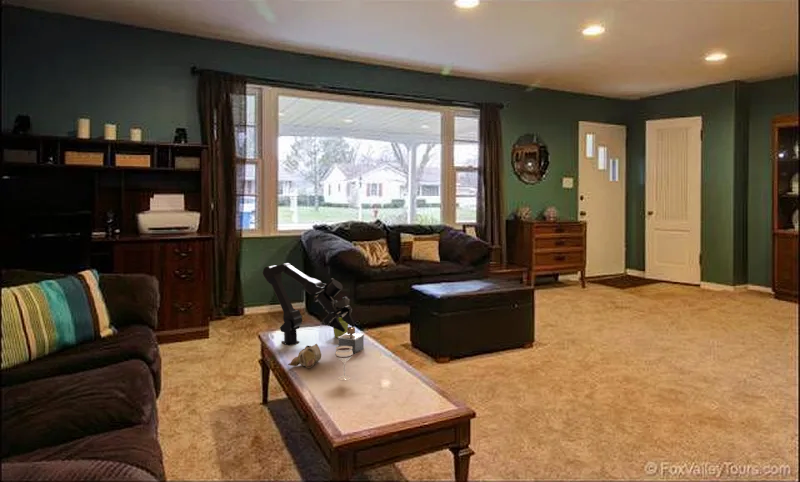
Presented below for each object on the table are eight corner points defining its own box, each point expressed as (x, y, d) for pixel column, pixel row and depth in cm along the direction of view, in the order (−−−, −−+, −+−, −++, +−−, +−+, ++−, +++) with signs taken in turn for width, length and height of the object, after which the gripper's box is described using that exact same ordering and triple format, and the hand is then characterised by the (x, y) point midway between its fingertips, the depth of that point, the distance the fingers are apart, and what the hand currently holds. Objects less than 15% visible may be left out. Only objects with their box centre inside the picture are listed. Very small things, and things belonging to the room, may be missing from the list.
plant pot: (348, 339, 251) (348, 322, 250) (329, 339, 251) (329, 322, 250) (351, 334, 260) (350, 317, 260) (332, 334, 261) (332, 317, 260)
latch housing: (338, 352, 231) (337, 337, 230) (349, 345, 240) (349, 331, 240) (355, 354, 227) (355, 339, 227) (366, 347, 237) (366, 333, 237)
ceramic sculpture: (327, 341, 217) (308, 353, 204) (328, 360, 218) (309, 374, 205) (306, 339, 221) (285, 350, 208) (307, 358, 223) (287, 371, 209)
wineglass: (353, 374, 202) (353, 345, 201) (352, 381, 195) (352, 350, 194) (336, 375, 202) (336, 345, 201) (334, 381, 195) (334, 350, 194)
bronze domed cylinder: (345, 348, 232) (345, 328, 231) (349, 346, 235) (349, 326, 234) (352, 349, 230) (352, 329, 230) (356, 346, 234) (356, 327, 233)
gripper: (328, 295, 224) (350, 322, 221) (348, 288, 241) (369, 313, 238) (313, 311, 228) (335, 338, 225) (334, 303, 245) (354, 328, 242)
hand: (349, 329), depth 232 cm, fingers open, 9 cm apart
